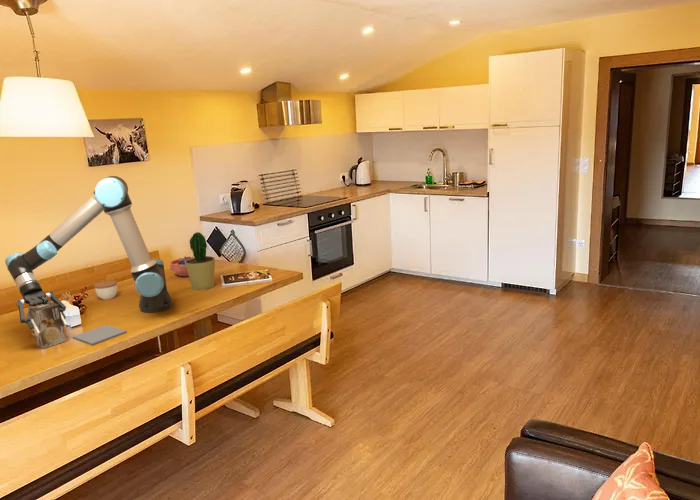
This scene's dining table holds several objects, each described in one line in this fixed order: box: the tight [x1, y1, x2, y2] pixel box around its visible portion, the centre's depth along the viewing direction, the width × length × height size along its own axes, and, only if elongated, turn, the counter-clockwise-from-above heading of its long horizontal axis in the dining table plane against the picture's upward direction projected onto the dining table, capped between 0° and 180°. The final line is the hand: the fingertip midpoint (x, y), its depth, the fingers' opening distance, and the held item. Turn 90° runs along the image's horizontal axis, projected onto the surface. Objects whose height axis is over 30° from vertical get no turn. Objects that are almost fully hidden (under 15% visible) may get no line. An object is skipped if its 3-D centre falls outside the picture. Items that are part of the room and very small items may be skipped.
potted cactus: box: [185, 231, 216, 291], centre depth 285 cm, size 15×15×30 cm
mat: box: [72, 324, 127, 346], centre depth 227 cm, size 15×15×1 cm
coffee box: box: [30, 301, 67, 350], centre depth 220 cm, size 9×6×16 cm
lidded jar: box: [93, 279, 118, 301], centre depth 278 cm, size 11×11×9 cm
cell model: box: [169, 256, 194, 277], centre depth 312 cm, size 17×20×11 cm
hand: (52, 330), depth 218 cm, fingers open, 10 cm apart
